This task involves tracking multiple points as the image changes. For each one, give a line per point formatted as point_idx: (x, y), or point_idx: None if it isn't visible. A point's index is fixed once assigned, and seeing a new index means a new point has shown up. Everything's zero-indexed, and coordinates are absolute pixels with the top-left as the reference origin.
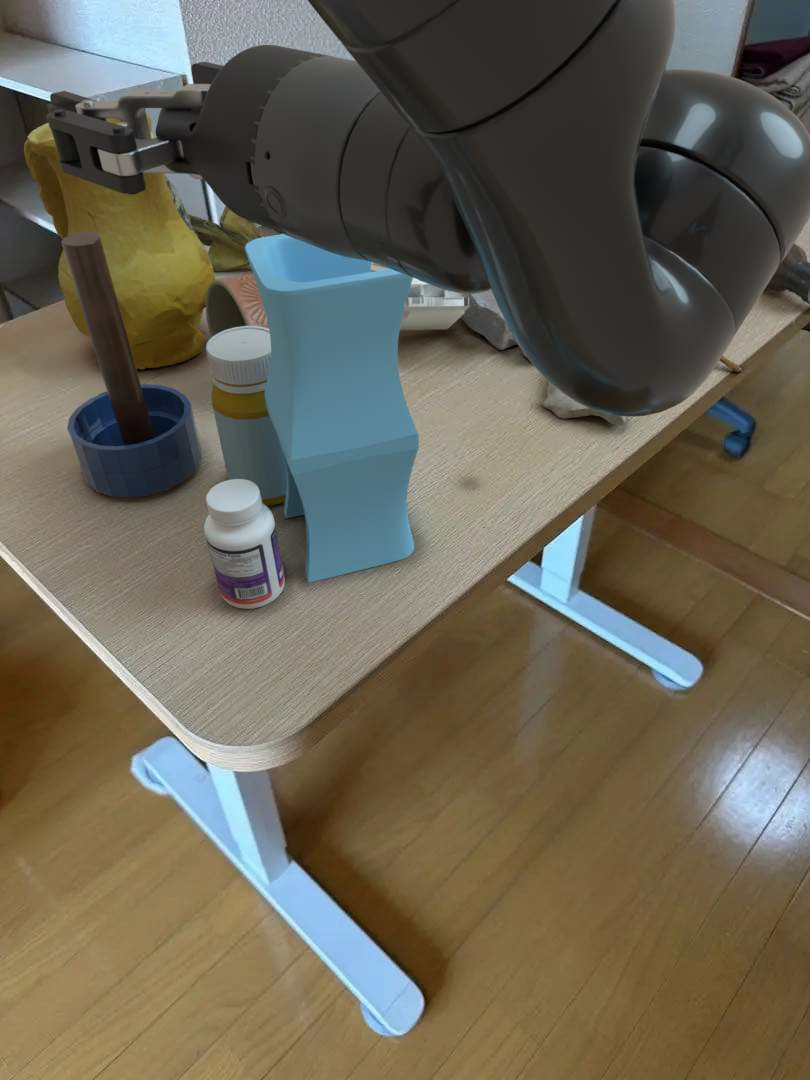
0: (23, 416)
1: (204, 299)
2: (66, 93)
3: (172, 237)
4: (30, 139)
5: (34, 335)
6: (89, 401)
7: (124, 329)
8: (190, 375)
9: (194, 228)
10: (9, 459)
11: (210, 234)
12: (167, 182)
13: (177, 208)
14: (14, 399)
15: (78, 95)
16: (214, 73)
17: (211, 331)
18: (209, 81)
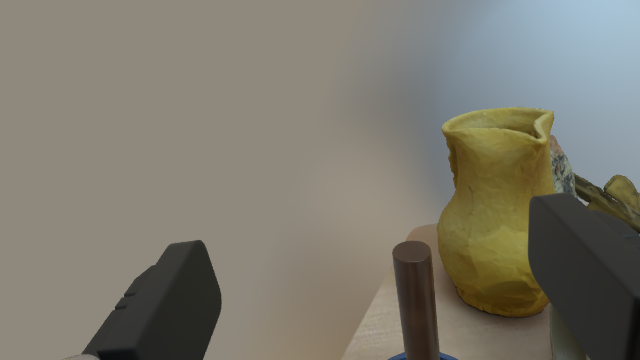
0: (375, 316)
1: None
2: (177, 257)
3: None
4: (442, 127)
5: (422, 241)
6: (402, 355)
7: (434, 335)
8: (520, 336)
9: (578, 187)
10: (343, 356)
11: (591, 195)
12: (561, 156)
13: (564, 176)
14: (379, 296)
15: (170, 282)
16: (582, 255)
17: (552, 312)
18: (563, 258)
